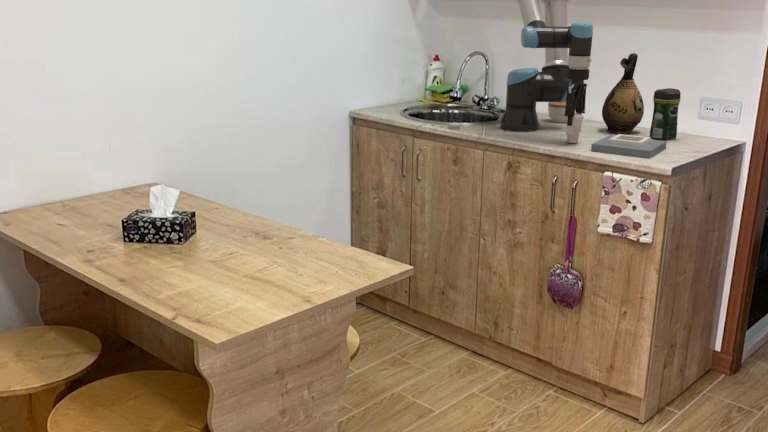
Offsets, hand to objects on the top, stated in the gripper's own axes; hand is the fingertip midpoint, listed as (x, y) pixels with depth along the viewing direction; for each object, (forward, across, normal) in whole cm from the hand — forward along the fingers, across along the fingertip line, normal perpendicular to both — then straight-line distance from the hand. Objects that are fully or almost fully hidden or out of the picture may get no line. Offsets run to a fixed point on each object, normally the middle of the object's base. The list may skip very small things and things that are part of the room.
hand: (573, 132), depth 277 cm
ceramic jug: (+4, +34, -7) cm, 35 cm away
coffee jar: (+4, +29, -24) cm, 38 cm away
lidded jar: (+4, +41, +21) cm, 46 cm away
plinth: (+4, +1, -20) cm, 20 cm away
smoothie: (+4, 0, 0) cm, 4 cm away
